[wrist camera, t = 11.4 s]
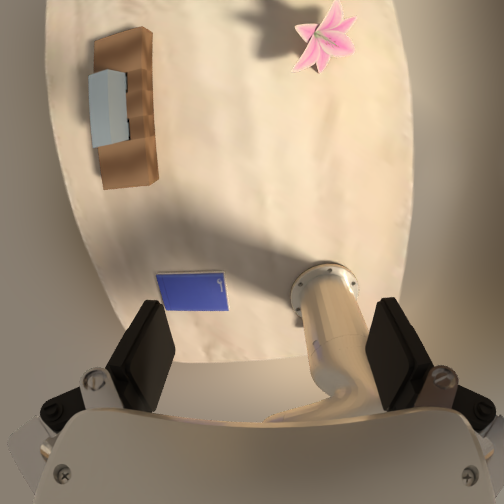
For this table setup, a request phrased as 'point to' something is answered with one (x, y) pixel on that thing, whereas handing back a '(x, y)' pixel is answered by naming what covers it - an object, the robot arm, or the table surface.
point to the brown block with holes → (130, 110)
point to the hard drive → (194, 291)
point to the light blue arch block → (108, 107)
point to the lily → (326, 39)
